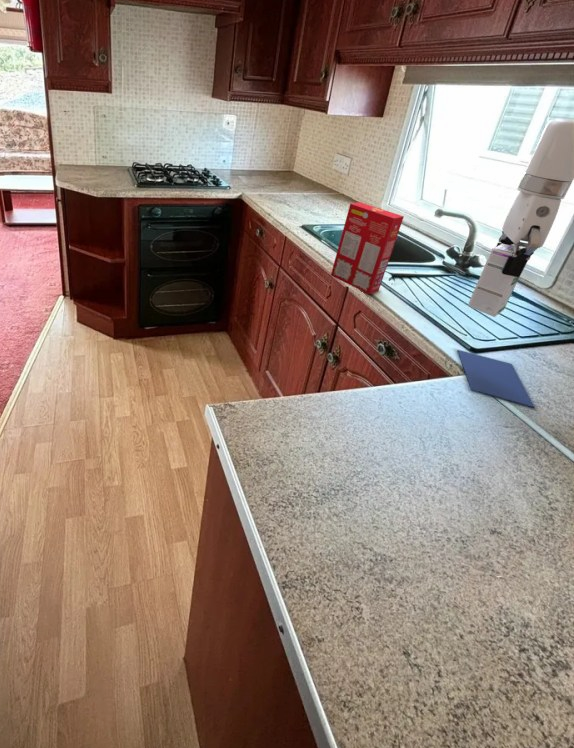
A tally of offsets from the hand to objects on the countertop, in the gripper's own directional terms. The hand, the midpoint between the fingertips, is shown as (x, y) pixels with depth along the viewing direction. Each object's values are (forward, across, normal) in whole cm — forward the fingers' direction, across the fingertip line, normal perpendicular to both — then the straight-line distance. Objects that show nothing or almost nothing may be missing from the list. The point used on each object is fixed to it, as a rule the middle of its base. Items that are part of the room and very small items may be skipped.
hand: (504, 267), depth 87 cm
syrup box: (+10, 0, 0) cm, 10 cm away
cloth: (+26, -2, -7) cm, 27 cm away
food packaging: (+26, +33, +25) cm, 49 cm away
